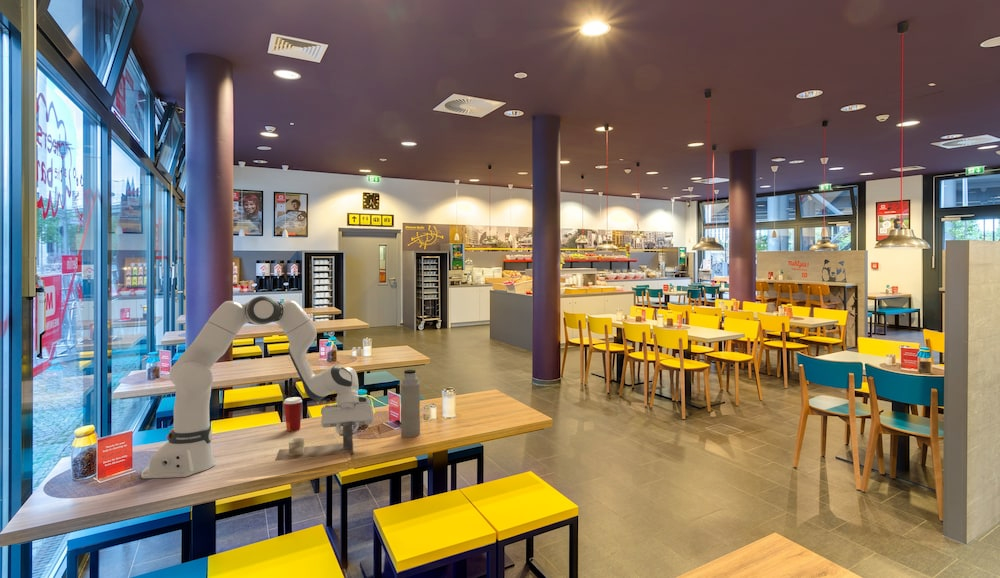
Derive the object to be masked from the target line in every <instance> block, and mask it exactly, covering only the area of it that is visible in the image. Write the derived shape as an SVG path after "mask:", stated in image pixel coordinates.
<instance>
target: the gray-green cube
mask: <svg viewBox="0 0 1000 578" xmlns="http://www.w3.org/2000/svg"><path fill="white" fill-rule="evenodd" d="M304 447H305V437H296V438H295V437H293V438H290V439H289V441H288V449H289V456H293V455H303V453H304Z"/></svg>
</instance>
